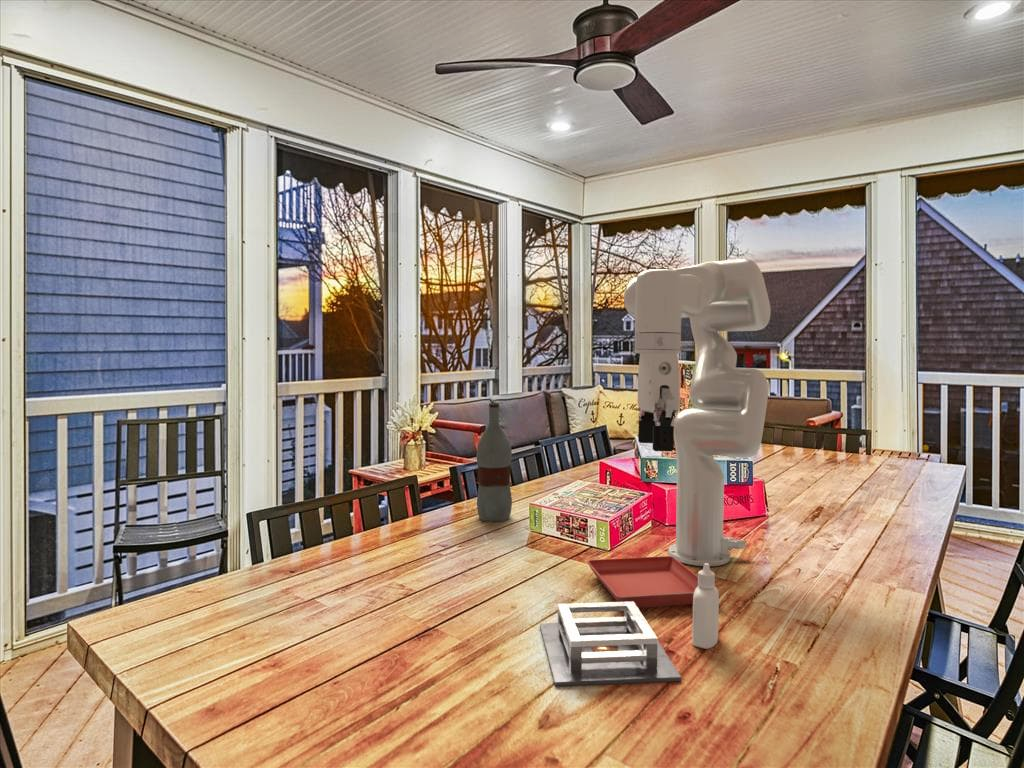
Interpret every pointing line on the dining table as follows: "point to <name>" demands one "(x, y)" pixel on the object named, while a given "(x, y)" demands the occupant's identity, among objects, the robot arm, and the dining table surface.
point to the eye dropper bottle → (705, 610)
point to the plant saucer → (647, 580)
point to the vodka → (494, 470)
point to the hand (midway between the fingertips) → (654, 446)
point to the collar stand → (605, 647)
